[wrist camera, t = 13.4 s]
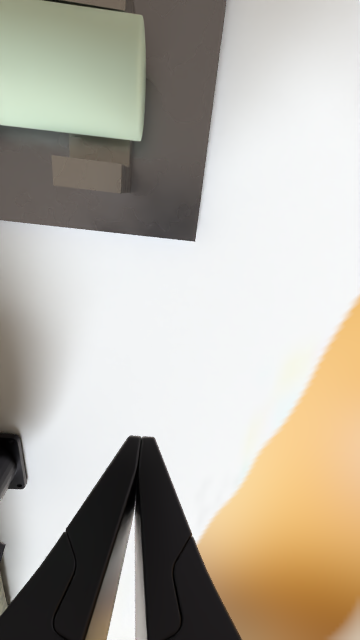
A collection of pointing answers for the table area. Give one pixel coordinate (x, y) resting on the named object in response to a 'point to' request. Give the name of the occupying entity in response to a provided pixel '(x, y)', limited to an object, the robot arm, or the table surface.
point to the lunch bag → (2, 597)
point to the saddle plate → (127, 155)
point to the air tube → (72, 69)
